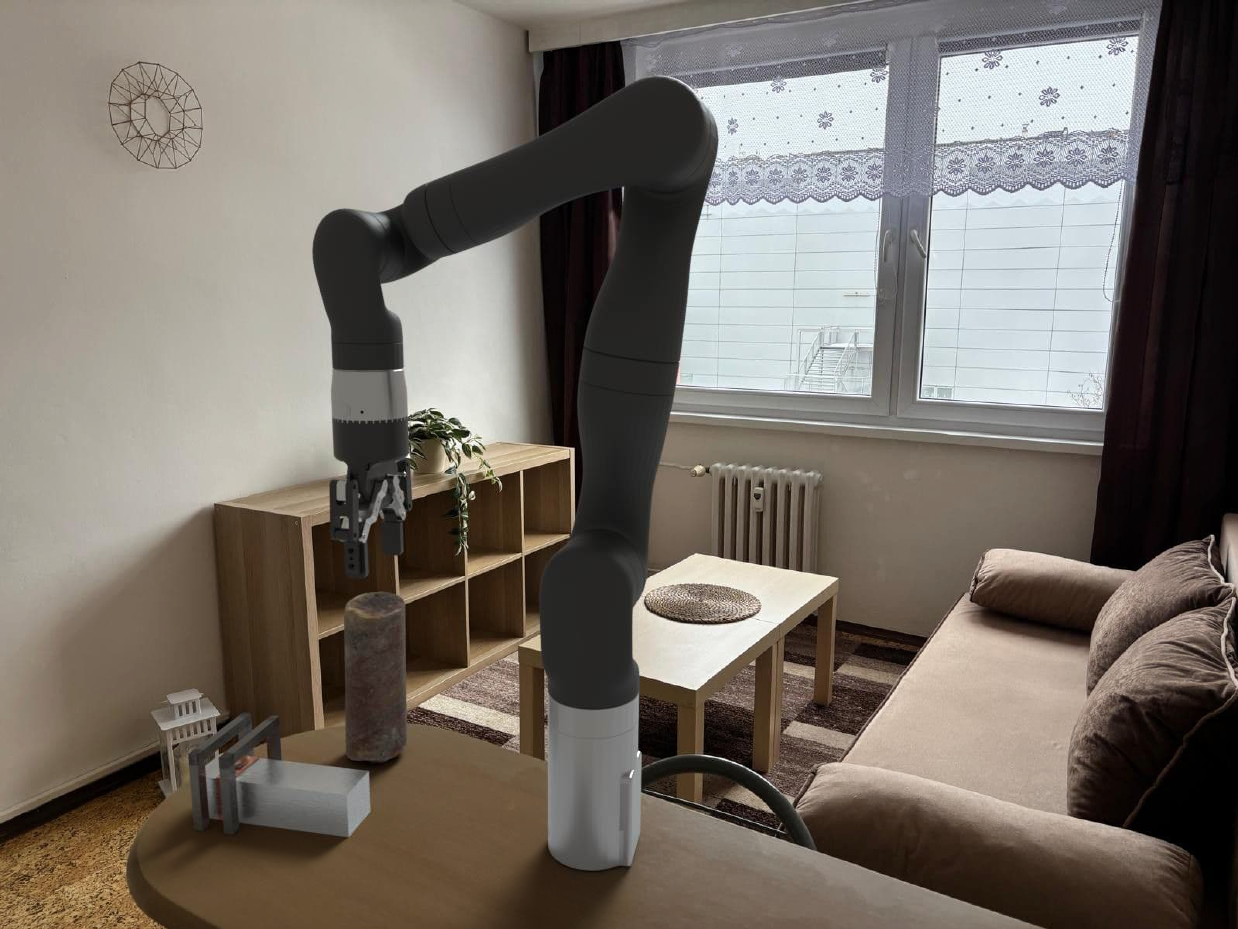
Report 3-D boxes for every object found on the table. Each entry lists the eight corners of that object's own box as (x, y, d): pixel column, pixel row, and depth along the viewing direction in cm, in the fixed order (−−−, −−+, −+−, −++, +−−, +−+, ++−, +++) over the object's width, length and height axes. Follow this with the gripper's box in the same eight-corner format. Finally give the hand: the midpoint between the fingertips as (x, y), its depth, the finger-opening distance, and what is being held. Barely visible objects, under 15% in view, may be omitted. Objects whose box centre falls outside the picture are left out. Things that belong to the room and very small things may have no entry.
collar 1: (255, 782, 106) (251, 713, 105) (202, 831, 97) (196, 755, 95) (247, 782, 106) (243, 712, 105) (194, 830, 97) (188, 754, 95)
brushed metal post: (370, 812, 101) (369, 769, 100) (348, 839, 96) (346, 794, 95) (224, 793, 104) (221, 751, 103) (195, 818, 99) (192, 774, 98)
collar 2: (283, 786, 106) (279, 716, 104) (232, 835, 96) (227, 758, 94) (275, 785, 106) (271, 715, 104) (224, 833, 96) (218, 757, 95)
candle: (417, 742, 116) (412, 592, 113) (398, 772, 109) (392, 612, 105) (359, 739, 117) (353, 589, 113) (336, 768, 110) (328, 609, 106)
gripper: (373, 423, 86) (379, 589, 89) (431, 405, 99) (435, 549, 102) (300, 420, 87) (308, 583, 90) (367, 403, 101) (372, 545, 104)
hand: (375, 565), depth 96 cm, fingers open, 8 cm apart
